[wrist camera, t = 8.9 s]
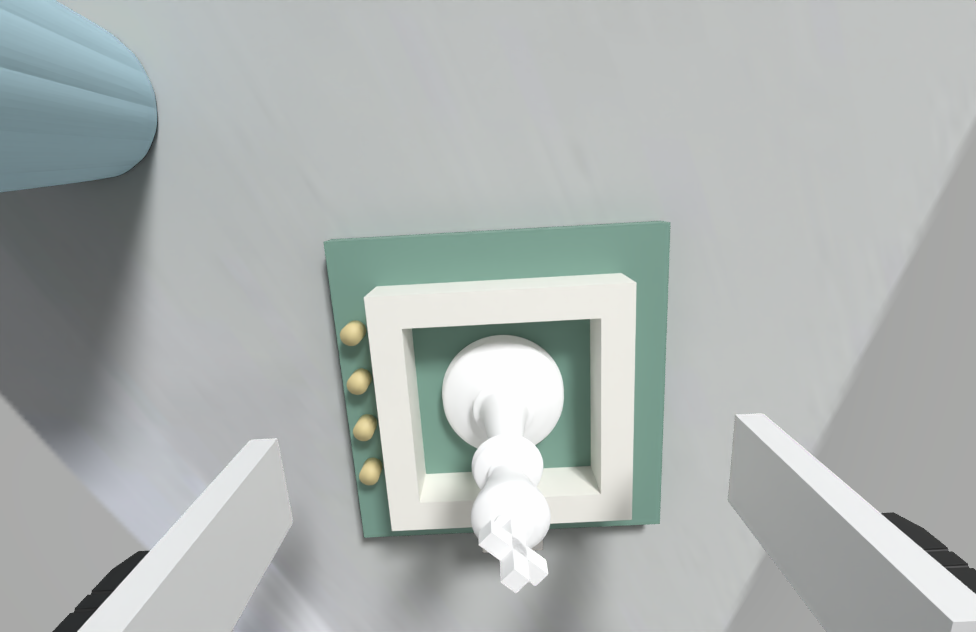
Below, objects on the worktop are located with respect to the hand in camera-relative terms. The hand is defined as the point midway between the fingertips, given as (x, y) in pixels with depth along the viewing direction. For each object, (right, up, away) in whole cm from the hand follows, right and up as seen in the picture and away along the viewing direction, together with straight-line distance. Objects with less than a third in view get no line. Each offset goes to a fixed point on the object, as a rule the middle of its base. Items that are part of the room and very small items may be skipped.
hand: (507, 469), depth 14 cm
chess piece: (0, +1, +6) cm, 7 cm away
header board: (0, +1, +7) cm, 7 cm away
